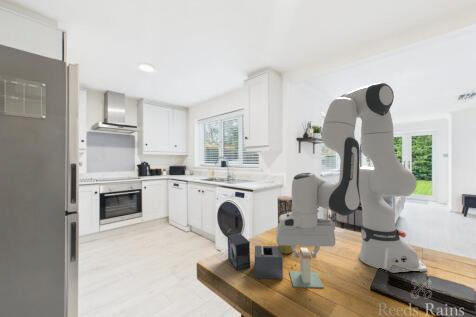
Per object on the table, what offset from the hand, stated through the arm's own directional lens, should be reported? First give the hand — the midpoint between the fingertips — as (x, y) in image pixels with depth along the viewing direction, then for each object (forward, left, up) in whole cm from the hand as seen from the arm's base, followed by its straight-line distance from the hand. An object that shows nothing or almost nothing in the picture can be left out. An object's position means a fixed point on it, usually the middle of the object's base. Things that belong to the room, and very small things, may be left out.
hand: (305, 257), depth 74 cm
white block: (0, 0, -8) cm, 8 cm away
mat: (0, 0, -8) cm, 8 cm away
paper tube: (+4, -22, -8) cm, 24 cm away
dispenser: (+13, -4, -8) cm, 16 cm away
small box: (+25, -10, -8) cm, 28 cm away
